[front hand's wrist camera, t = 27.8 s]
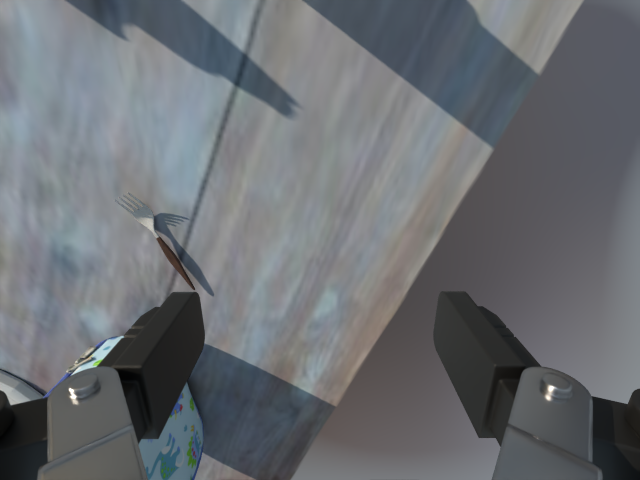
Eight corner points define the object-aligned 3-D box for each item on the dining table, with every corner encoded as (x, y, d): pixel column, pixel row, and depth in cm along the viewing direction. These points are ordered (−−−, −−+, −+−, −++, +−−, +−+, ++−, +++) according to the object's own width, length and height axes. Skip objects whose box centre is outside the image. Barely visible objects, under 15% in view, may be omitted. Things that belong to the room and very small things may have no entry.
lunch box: (100, 322, 52) (-34, 450, 32) (167, 312, 51) (72, 436, 32) (157, 443, 61) (80, 600, 41) (214, 436, 60) (164, 592, 41)
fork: (188, 291, 50) (183, 298, 48) (120, 196, 45) (112, 200, 43) (203, 284, 50) (198, 291, 48) (136, 188, 44) (128, 191, 43)
